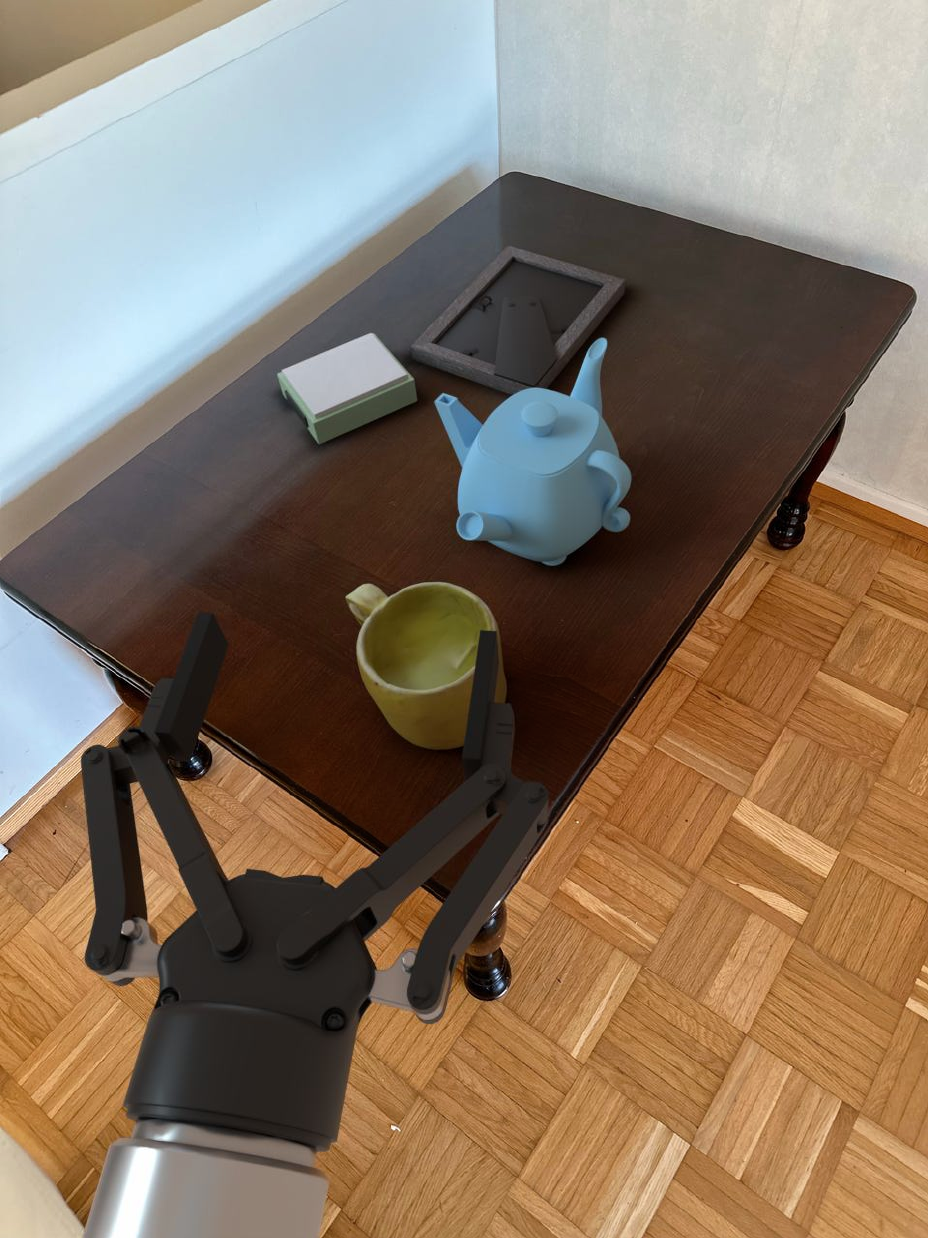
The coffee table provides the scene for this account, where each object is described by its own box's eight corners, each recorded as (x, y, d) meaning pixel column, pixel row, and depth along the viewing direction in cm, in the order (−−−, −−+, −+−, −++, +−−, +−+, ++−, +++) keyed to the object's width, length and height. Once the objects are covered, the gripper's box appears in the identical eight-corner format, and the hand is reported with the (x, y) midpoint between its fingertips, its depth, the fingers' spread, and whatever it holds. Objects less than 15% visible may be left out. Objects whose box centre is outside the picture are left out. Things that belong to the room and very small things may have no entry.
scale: (317, 445, 80) (310, 420, 78) (281, 395, 84) (273, 370, 82) (417, 400, 83) (413, 374, 80) (377, 354, 87) (373, 328, 84)
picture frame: (534, 403, 81) (624, 293, 90) (534, 385, 80) (625, 275, 88) (412, 359, 86) (508, 258, 94) (409, 342, 84) (507, 241, 93)
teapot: (441, 464, 78) (427, 357, 68) (598, 440, 78) (605, 330, 69) (466, 606, 69) (455, 505, 60) (644, 578, 69) (659, 473, 60)
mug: (563, 694, 62) (504, 619, 54) (450, 795, 61) (376, 733, 54) (471, 598, 70) (409, 522, 62) (371, 687, 69) (297, 621, 62)
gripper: (-46, 1110, 36) (133, 662, 48) (585, 1203, 33) (607, 696, 45) (-167, 1078, 30) (73, 574, 42) (594, 1189, 27) (617, 606, 39)
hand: (349, 636), depth 43 cm, fingers open, 13 cm apart
